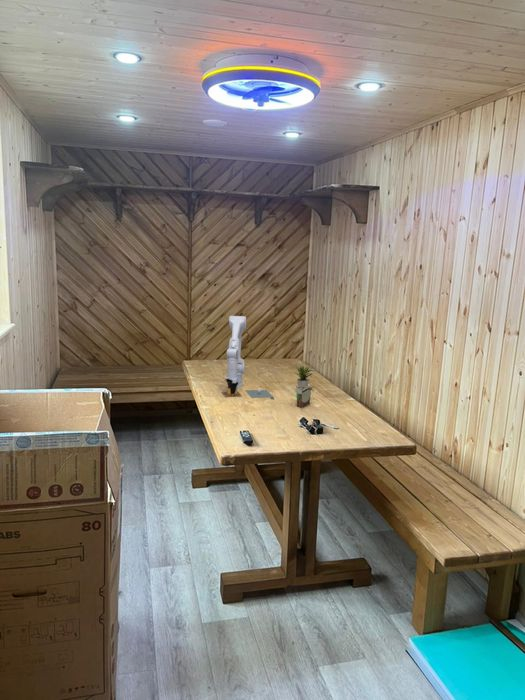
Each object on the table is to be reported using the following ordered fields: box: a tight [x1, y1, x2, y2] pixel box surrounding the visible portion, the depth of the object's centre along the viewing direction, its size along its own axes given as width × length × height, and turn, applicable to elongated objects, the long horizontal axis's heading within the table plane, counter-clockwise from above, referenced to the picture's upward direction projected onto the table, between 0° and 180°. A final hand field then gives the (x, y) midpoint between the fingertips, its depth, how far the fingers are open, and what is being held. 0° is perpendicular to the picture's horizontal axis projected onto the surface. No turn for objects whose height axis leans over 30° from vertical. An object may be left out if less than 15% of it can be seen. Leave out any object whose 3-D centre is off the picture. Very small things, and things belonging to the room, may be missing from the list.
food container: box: [294, 385, 312, 409], centre depth 295 cm, size 12×6×10 cm, turn 149°
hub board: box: [244, 387, 275, 400], centre depth 313 cm, size 18×13×4 cm
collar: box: [226, 386, 238, 396], centre depth 309 cm, size 6×6×4 cm
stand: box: [221, 391, 243, 398], centre depth 310 cm, size 12×10×4 cm
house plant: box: [294, 363, 316, 387], centre depth 330 cm, size 14×14×16 cm
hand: (231, 392), depth 310 cm, fingers closed on collar, 5 cm apart
